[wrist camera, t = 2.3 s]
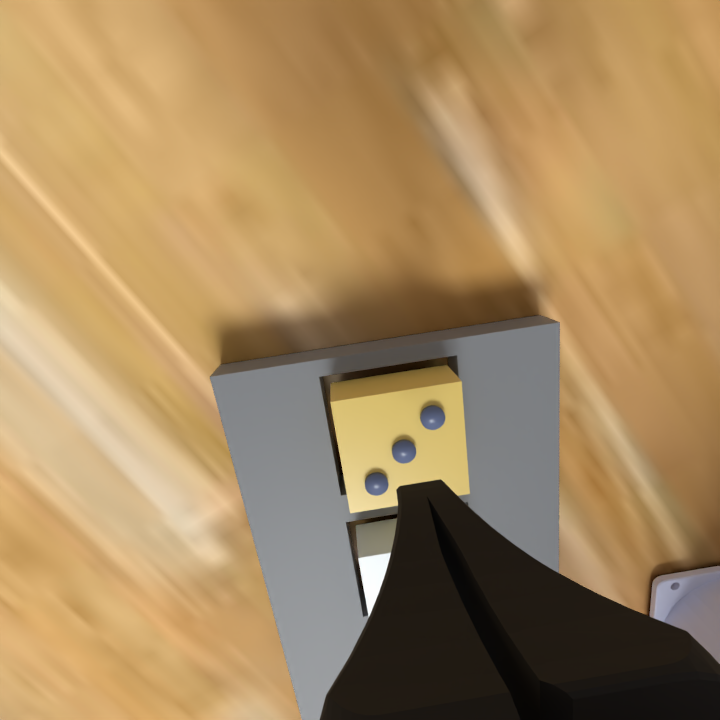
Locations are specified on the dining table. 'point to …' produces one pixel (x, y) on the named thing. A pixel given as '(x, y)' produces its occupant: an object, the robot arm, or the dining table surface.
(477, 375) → the board
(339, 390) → the tile three
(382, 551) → the tile two
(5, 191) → the dining table surface
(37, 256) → the dining table surface
